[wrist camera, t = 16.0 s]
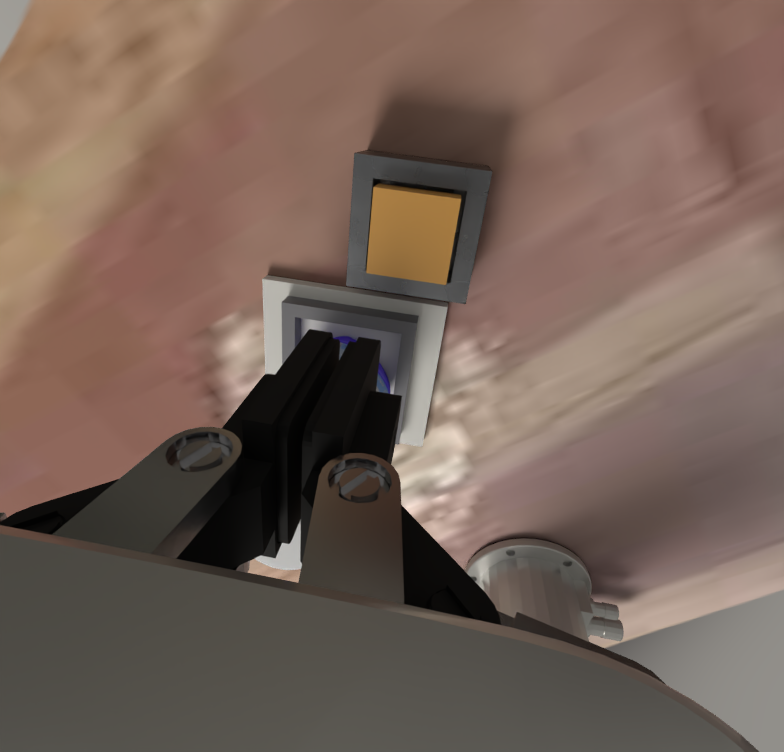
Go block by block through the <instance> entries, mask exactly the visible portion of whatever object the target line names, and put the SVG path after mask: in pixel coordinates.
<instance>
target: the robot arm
mask: <svg viewBox="0 0 784 752" xmlns="http://www.w3.org/2000/svg"><path fill="white" fill-rule="evenodd" d="M380 350H381V340H376V339H369V338H363V337H358V339H357V341H356V342H351V341H349V342H348V344H347V346H346V348H345V350H344V352H343V354H342V356H341V358H340V360H339V354H340V340H339V339H333V334H332V333H331V332H325V331H319V330H313V329H309V330H308V331H307V332H306V334H305V335H304V337H303V338H302V339H301V341H300V342H299V343H298V345H297V346H296V347H295V349H294V350H293V351H292V353H291V354H290V355H289V357H288V358H287V359H286V361H285V362H284V363H283V365H282V366H281V367H280V369H279V370H278V371H277V373H276V374H265V375H264V376H263V377H262V378H261V380H260V381H259V382H258V383H257V385H256V386H255V387H254V389H253V390H252V391H251V392H250V394H249V395H248V396H247V397H246V399H245V400H244V401H243V402H242V404H241V405H240V406H239V407H238V409H237V410H236V411H235V413H234V414H233V415H232V416H231V418H230V419H229V420H228V421H227V423H226V424H225V425H224V426H223V428H216V427H198V428H193V429H188V430H185V431H183V432H180V433H178V434H175V435H174V436H172V437H171V438H169V439H167V440H166V441H165V442H163V443H162V444H161V445H160V446H159V447H157V448H156V449H155V450H154V451H153V452H151V453H150V454H149V455H148V456H147V457H145V458H144V459H143V460H142V461H140V462H139V463H138V464H137V465H136V466H134V467H133V468H132V469H131V470H130V471H128V472H127V473H126V474H125V475H124V476H122V477H121V478H120V479H117V480H114V481H111V482H108V483H105V484H102V485H98V486H95V487H92V488H89V489H86V490H82V491H79V492H76V493H73V494H70V495H66V496H63V497H60V498H57V499H54V500H50V501H47V502H44V503H41V504H38V505H34V506H32V507H29V508H27V509H24V510H21V511H19V512H16V513H15V514H13V515H11V516H9V517H8V518H7V516H6V514H5V513H0V752H759V751H758V750H757V749H756V748H755V747H754V746H753V745H751V744H750V743H749V742H748V741H747V740H746V739H745V738H744V737H743V736H742V735H740V734H739V733H738V732H737V731H735V730H734V729H733V728H731V727H730V726H729V725H727V724H726V723H725V722H724V721H722V720H721V719H720V718H718V717H717V716H716V715H714V714H713V713H711V712H709V711H708V710H707V709H705V708H704V707H702V706H701V705H699V704H698V703H696V702H695V701H693V700H692V699H690V698H688V697H686V696H685V695H683V694H681V693H679V692H678V691H676V690H674V689H672V688H670V687H669V686H667V685H666V684H665V683H664V682H663V681H662V680H661V679H660V678H659V677H658V676H656V675H655V674H654V673H653V672H652V671H651V670H649V669H647V668H645V667H644V666H642V665H640V664H639V663H637V662H635V661H633V660H631V659H628V658H626V657H624V656H621V655H619V654H616V653H614V652H612V651H609V650H607V649H605V648H602V647H600V646H598V645H595V644H593V643H590V642H589V639H588V637H589V636H590V635H594V636H600V637H601V638H606V639H611V640H616V641H621V640H622V638H623V625H622V623H621V621H620V620H618V617H619V610H618V607H617V605H613V604H608V603H603V602H602V603H599V602H594V601H593V599H592V598H590V595H591V591H592V588H591V580H590V576H589V572H588V570H587V568H586V566H585V564H584V563H583V562H582V561H581V559H580V558H579V557H578V556H576V555H575V554H574V553H573V552H571V551H570V550H568V549H566V548H564V547H562V546H560V545H558V544H554V543H551V542H548V541H544V540H538V539H525V538H521V539H510V540H505V541H501V542H497V543H495V544H492V545H490V546H487V547H486V548H484V549H482V550H481V551H479V552H478V553H477V554H476V555H474V556H473V557H472V558H471V560H470V561H469V563H468V564H467V566H466V569H465V571H464V570H463V569H462V568H461V567H460V566H459V565H458V564H457V563H456V561H455V560H454V559H453V558H452V557H451V556H450V555H449V554H448V553H447V552H446V551H445V550H444V549H443V548H442V547H441V546H440V545H439V544H438V543H437V542H436V541H435V540H434V539H433V538H432V537H431V535H430V534H429V533H428V532H427V531H426V530H425V529H424V528H423V527H422V526H421V525H420V524H419V523H418V522H417V521H416V520H415V519H414V518H413V517H412V516H411V515H410V514H409V513H408V512H407V510H406V509H405V508H404V507H403V506H402V505H401V487H400V479H399V475H398V473H397V471H396V470H395V469H394V467H393V466H392V465H391V462H392V457H393V452H394V447H395V441H396V435H397V429H398V422H399V416H400V409H401V401H402V396H401V395H395V394H389V393H383V392H377V391H376V387H377V378H378V369H379V360H380ZM300 519H301V543H300V562H301V563H302V567H301V572H300V578H299V583H296V582H291V581H286V580H281V579H276V578H271V577H266V576H261V575H256V574H251V573H247V572H248V570H249V563H250V560H252V559H254V558H256V557H258V556H266V557H271V558H276V556H277V554H278V552H279V549H280V547H281V545H282V543H286V544H290V543H291V541H292V539H293V537H294V534H295V532H296V529H297V527H298V524H299V522H300ZM597 616H599V617H597Z"/></svg>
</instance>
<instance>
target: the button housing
mask: <svg viewBox="0 0 784 752" xmlns="http://www.w3.org/2000/svg"><path fill="white" fill-rule="evenodd" d="M491 176H492V170H491V169H490V167H489V166H484V165H477V164H469V163H462V162H454V161H447V160H439V159H432V158H424V157H416V156H409V155H401V154H394V153H386V152H379V151H371V150H365V151H361V152H357V153H354V168H353V184H352V200H351V216H350V232H349V248H348V264H347V280H346V286H351V287H357V288H364V289H370V290H377V291H383V292H390V293H397V294H403V295H410V296H416V297H423V298H429V299H436V300H443V301H449V302H456V303H462V304H466V299H467V294H468V289H469V284H470V280H471V275H472V270H473V265H474V260H475V255H476V250H477V245H478V240H479V235H480V230H481V225H482V220H483V215H484V210H485V205H486V201H487V196H488V191H489V186H490V181H491ZM379 183H381V184H388V185H396V186H403V187H410V188H418V189H425V190H432V191H439V192H447V193H454V194H461V203H460V209H459V215H458V220H457V226H456V232H455V237H454V243H453V249H452V254H451V260H450V266H449V271H448V277H447V283H446V285H442V284H435V283H429V282H422V281H415V280H409V279H402V278H395V277H389V276H382V275H375V274H369V273H366V270H367V258H368V246H369V234H370V222H371V210H372V198H373V187H374V186H376V185H377V184H379Z"/></svg>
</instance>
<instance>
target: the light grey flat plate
mask: <svg viewBox="0 0 784 752" xmlns="http://www.w3.org/2000/svg"><path fill="white" fill-rule="evenodd" d="M262 281H263V312H264V343H265V374H276V373H277V371H278V370H279V369H280V367H281V366H282V365H283V363H284V362H285V361H286V359H287V358H288V357H289V355H290V354H291V353H292V351H293V350H294V349H295V347H296V346H297V345H298V343H299V342H300V341H301V339H302V338H303V337H304V335H305V334H306V332H307V331H308V330H309V329H313V330H319V331H325V332H331V333H332V334H333V338H335V337H340V336H349V337H351V338H353V339H355V340H357V339H358V337H363V338H369V339H376V340H381V350H380V360H379V363H380V364H381V365H382V367H383V369H384V370H385V372H386V374H387V377H388V380H389V383H390V394H395V395H401V396H402V401H401V409H400V416H399V422H398V429H397V435H396V441H395V444H399V443H402V444H408V445H414V446H420V447H422V445H423V440H424V434H425V429H426V423H427V418H428V412H429V407H430V401H431V396H432V391H433V385H434V380H435V374H436V369H437V363H438V358H439V352H440V347H441V341H442V336H443V330H444V325H445V319H446V314H447V308H448V303H447V302H441V301H434V300H428V299H421V298H414V297H408V296H401V295H395V294H388V293H382V292H375V291H369V290H362V289H355V288H349V287H342V286H336V285H329V284H323V283H316V282H310V281H303V280H296V279H290V278H283V277H277V276H270V275H267V276H266V277H264V278H263V279H262Z"/></svg>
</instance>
